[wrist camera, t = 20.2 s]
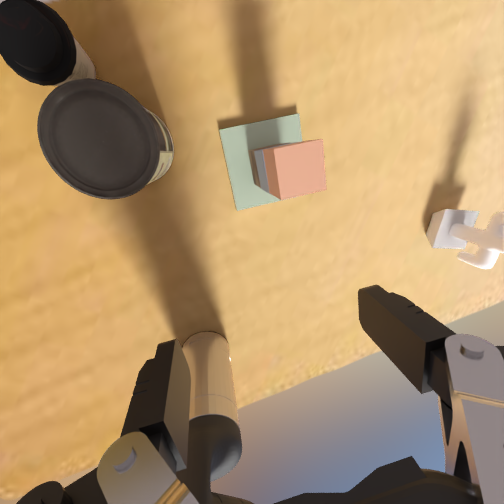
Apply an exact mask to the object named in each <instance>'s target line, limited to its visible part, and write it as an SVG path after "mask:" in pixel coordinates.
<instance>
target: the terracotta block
mask: <svg viewBox="0 0 504 504" xmlns="http://www.w3.org/2000/svg"><path fill="white" fill-rule="evenodd" d="M263 155H264V161H265V168H266V174H267V180H268V186H269V193H270V194H272V195H273V196H275V197H277V198H278V199H280V200H284V199H289V198H293V197H297V196H302V195H306V194H311V193H315V192H319V191H324V190H326V176H325V163H324V150H323V139H318V140H309V141H302V142H297V143H293V144H288V145H283V146H278V147H273V148H268V149H264V150H263Z"/></svg>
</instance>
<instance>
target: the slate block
mask: <svg viewBox="0 0 504 504" xmlns="http://www.w3.org/2000/svg"><path fill="white" fill-rule="evenodd" d="M294 143H297V142H294ZM288 144H293V143H288ZM288 144H283V145H288ZM283 145H279V146H283ZM274 147H278V146H274ZM270 148H273V147H270ZM265 149H268V148H265ZM263 150H264V149H261V150H257V151H254V154H255V159H256V164H257V170H258V175H259V180H260V186H261V189H262V190H264V191H265V192H267V193H269V186H268V180H267V174H266V168H265V161H264V155H263ZM269 194H270V193H269Z"/></svg>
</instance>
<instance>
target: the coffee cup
mask: <svg viewBox="0 0 504 504" xmlns="http://www.w3.org/2000/svg"><path fill="white" fill-rule="evenodd" d="M0 54H1V56H2V57H3V59H4V60H5V62H6V63H7V65H9V66H10V67H11V68H12V69H13V70H14V71H15V72H16V73H17V74H18V75H19V76H21V77H23V78H25V79H26V80H28V81H30V82H32V83H36V84H39V85H43V86H45V85H54V86H60V85H62V84H64V83H66V82H68V81H72V80H76V79H85V78H89V79H96V71H95V67H94V64H93V63H92V61H91V59H90V58H89V56H88V55H87V54H86V52H85V51H84V50H83V48H82V47H81V46H80V45H79V43H78V42H77V41H76V39H75V38H74V37H73V35H72V33H71V31H70V30H69V28H68V26H67V24H66V23H65V21H64V20H63V19H62V18H61V17H60V16H59V15H58V14H57V12H56V11H54V10H53V9H51V8H50V7H49V6H47V5H46V4H44V3H43V2H40V1H37V0H5V1H3V2H2V3H1V4H0Z"/></svg>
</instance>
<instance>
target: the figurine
mask: <svg viewBox="0 0 504 504" xmlns="http://www.w3.org/2000/svg"><path fill="white" fill-rule="evenodd" d="M479 212H480V211H467V210H454V209H444V210H441V211H438V212H435V213H433V215H432V218H431V221H430V224H429V227H428V230H427V233H426V236H427V238H428V240H429V242H430V244H431V246H432V248H448V249H465V247H466V244H467V242H471V243H474V244H477V245H478V246H479V247H478V249H477V252H476V254H475V255H474V254H471V253H468V252H460V253H458V254H457V258H458V259H459V260H461V261H463V262H466V263H468V264H471V265H473V266H476V267H478V268H482V269H490V268H492V267H493V266H494V264H495V262H496V260H497V258H498V255H499V253H500V252H501V253H504V212H496V213H494V214H493V215H492V216H491V218H490V221H489V223H488V225H487V228H486V230H481V229H478V228H474V224H475V222H476V219H477V217H478V214H479Z"/></svg>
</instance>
